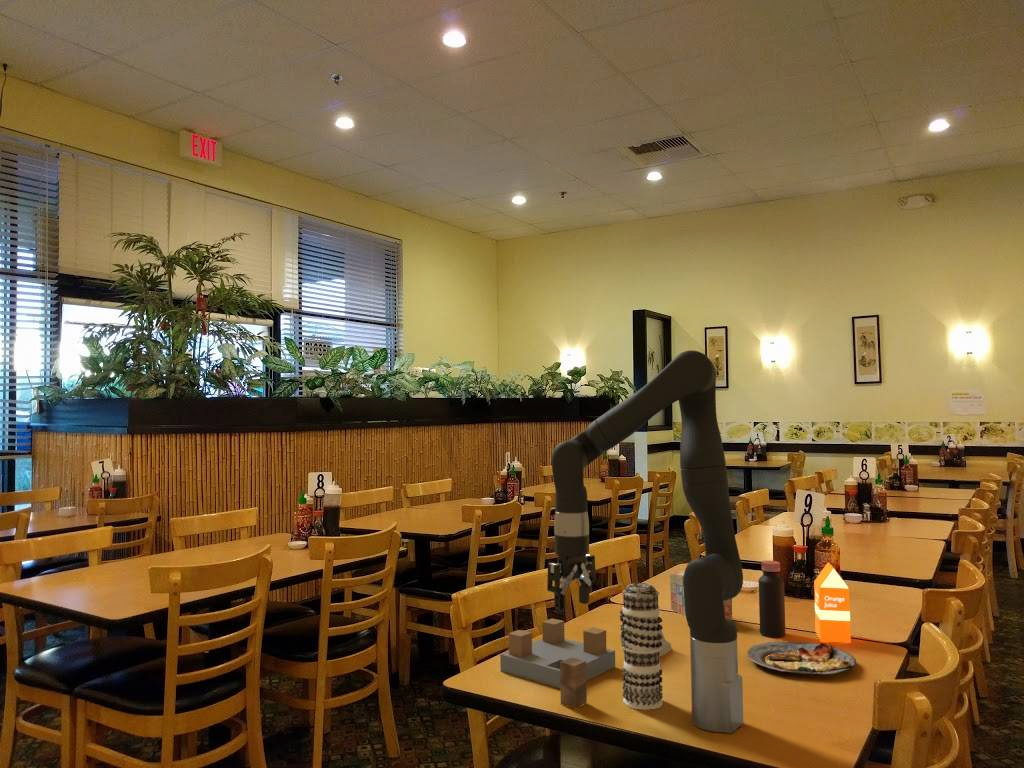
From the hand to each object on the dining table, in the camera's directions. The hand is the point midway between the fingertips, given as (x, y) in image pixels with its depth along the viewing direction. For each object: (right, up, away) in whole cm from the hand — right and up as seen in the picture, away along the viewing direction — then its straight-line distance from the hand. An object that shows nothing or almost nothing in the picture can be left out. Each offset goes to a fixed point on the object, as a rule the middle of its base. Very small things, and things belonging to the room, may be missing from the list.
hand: (572, 607), depth 162 cm
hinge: (+21, -22, +31) cm, 43 cm away
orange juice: (+75, -21, +43) cm, 89 cm away
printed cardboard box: (+44, -23, +64) cm, 81 cm away
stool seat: (-2, -21, +21) cm, 30 cm away
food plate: (+58, -21, +22) cm, 66 cm away
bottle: (+60, -22, +47) cm, 79 cm away
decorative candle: (+15, -21, -1) cm, 25 cm away
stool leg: (0, -21, -1) cm, 21 cm away
